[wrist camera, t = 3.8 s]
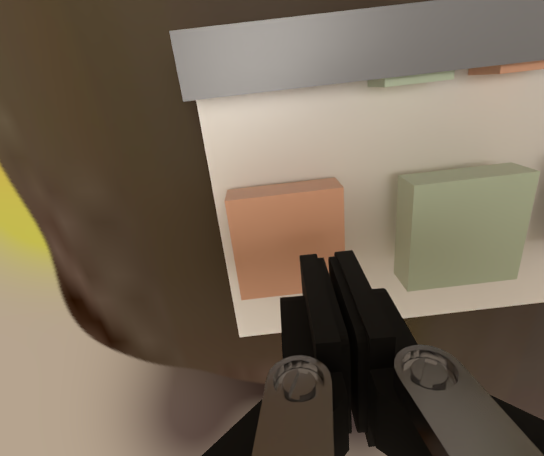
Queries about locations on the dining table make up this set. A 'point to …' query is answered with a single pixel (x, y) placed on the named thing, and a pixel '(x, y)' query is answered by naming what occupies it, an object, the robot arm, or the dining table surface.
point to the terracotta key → (283, 232)
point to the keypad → (373, 123)
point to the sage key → (462, 225)
